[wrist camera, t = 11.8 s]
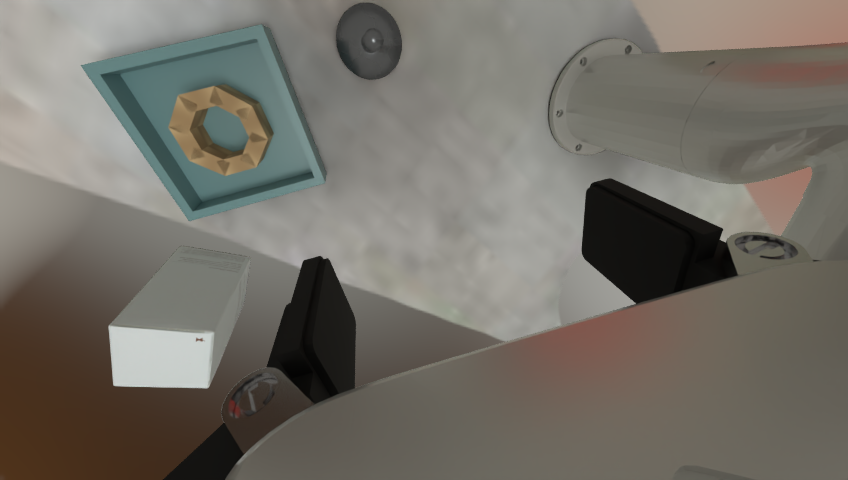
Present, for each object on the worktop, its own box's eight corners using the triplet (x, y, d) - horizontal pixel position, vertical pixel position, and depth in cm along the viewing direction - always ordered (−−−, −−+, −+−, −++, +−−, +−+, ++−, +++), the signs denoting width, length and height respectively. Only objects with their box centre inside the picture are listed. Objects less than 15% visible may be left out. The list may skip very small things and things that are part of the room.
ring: (248, 78, 28) (239, 79, 25) (283, 153, 32) (278, 161, 29) (169, 98, 27) (152, 101, 25) (214, 172, 31) (202, 182, 28)
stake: (391, -2, 28) (399, -15, 24) (406, 71, 31) (416, 71, 27) (326, 12, 28) (324, 2, 23) (348, 85, 31) (350, 88, 26)
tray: (269, 28, 27) (261, 24, 24) (326, 173, 34) (325, 183, 31) (108, 65, 26) (80, 65, 23) (202, 208, 33) (189, 221, 30)
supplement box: (179, 243, 34) (105, 323, 24) (253, 256, 37) (216, 333, 26) (176, 295, 37) (109, 388, 26) (245, 303, 40) (209, 391, 29)
